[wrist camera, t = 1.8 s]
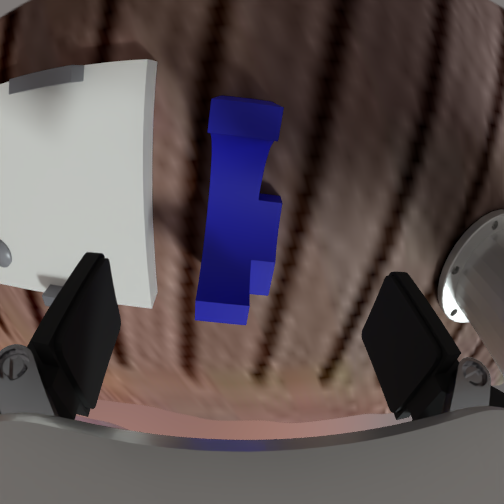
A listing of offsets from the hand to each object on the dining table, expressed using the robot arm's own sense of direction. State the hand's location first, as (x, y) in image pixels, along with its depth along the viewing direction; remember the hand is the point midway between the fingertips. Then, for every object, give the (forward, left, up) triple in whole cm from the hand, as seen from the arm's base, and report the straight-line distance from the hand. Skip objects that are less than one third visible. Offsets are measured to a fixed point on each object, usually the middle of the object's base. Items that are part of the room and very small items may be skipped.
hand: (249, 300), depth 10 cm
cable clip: (0, 0, -12) cm, 12 cm away
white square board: (+15, +1, -11) cm, 18 cm away
